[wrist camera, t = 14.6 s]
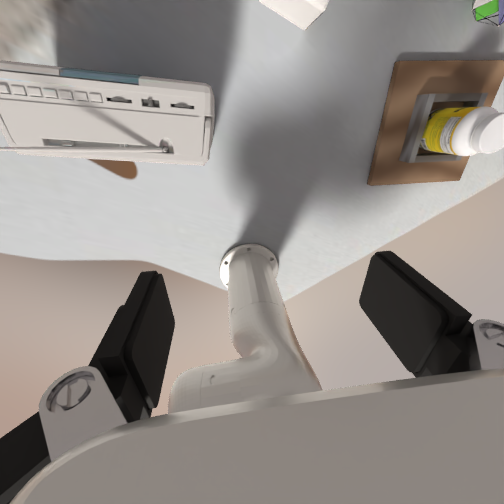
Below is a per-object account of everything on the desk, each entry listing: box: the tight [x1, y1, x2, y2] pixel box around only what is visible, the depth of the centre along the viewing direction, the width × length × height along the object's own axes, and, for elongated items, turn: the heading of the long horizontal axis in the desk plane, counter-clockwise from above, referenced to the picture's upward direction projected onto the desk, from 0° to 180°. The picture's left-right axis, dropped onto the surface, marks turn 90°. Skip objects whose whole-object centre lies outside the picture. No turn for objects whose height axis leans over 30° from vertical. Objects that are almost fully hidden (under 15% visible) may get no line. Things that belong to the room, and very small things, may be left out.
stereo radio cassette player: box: [0, 61, 215, 165], centre depth 26 cm, size 21×8×20 cm, turn 85°
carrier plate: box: [367, 60, 504, 186], centre depth 38 cm, size 18×18×4 cm
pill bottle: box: [419, 107, 504, 156], centre depth 34 cm, size 6×6×11 cm
